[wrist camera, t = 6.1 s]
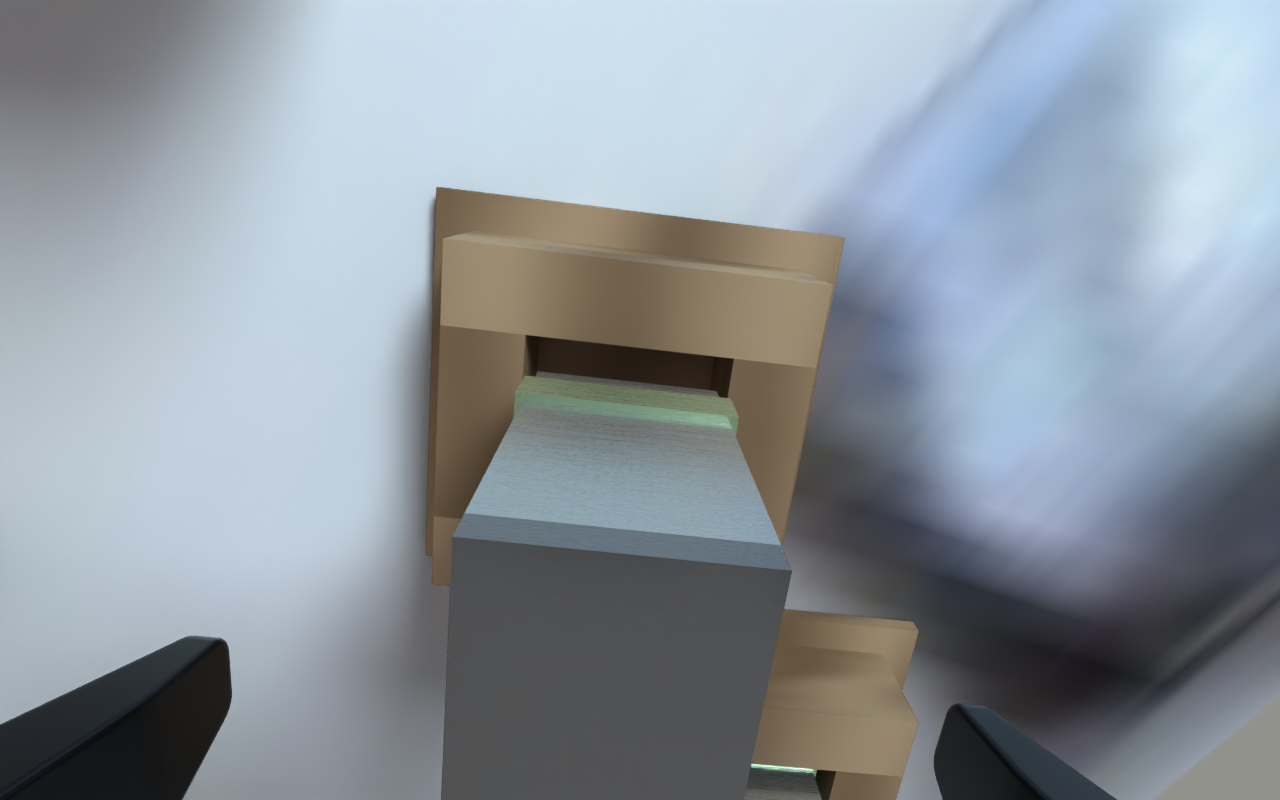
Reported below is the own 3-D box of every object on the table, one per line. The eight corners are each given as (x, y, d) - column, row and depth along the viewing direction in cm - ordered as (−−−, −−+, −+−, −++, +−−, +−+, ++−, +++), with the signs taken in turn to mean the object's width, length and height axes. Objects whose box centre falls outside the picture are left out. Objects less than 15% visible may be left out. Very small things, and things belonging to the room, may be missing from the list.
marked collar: (839, 236, 19) (896, 249, 15) (770, 581, 22) (802, 670, 18) (441, 187, 18) (386, 186, 14) (429, 547, 22) (382, 631, 18)
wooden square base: (912, 621, 23) (961, 696, 19) (844, 868, 26) (876, 969, 22) (583, 589, 22) (575, 661, 19) (555, 845, 25) (544, 944, 22)
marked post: (724, 385, 15) (806, 561, 8) (696, 555, 16) (746, 838, 9) (532, 363, 15) (439, 523, 8) (518, 537, 16) (429, 812, 9)
